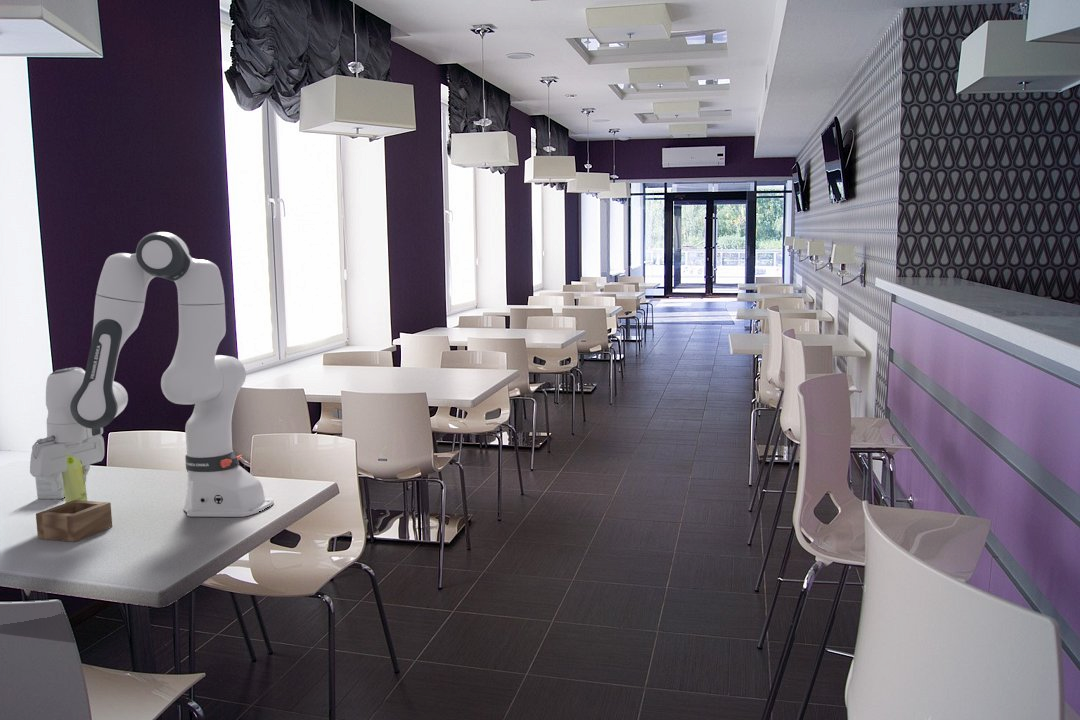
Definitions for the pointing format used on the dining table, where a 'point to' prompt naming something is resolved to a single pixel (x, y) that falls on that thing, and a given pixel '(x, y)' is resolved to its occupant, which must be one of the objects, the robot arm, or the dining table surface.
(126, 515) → the dining table surface
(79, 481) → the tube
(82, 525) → the wooden box
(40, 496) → the supplement box
